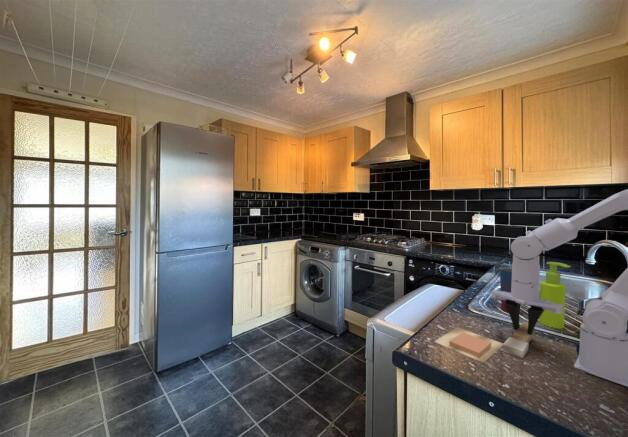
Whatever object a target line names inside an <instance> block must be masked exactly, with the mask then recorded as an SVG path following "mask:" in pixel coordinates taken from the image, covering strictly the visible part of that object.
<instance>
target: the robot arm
mask: <svg viewBox="0 0 628 437" xmlns="http://www.w3.org/2000/svg"><path fill="white" fill-rule="evenodd" d="M622 211H628V188H627V189H624V190H622V191H620V192H619V191H618V192H617V193H614V194H612V195H611V196H608V197H607V198H606V199H603V200H601V201H600V202H597V203H596V204H593V206H590V207H588V208H586V209H585V210H583V211H581V212H579V213H576V215H573V216H571V217H570V218H560V217H556V218H554V219H551V218H549V219H547V220H545V221H544V224H543V225H541V226H539V227H536V228H534V230H532V231H531V230H528V231H526V232H525V234H526V235H525V236H517V237H516V239H514V240H513V241H512V242H511V244H510V250H511V252H512V264H511V268H512V284H511V293H510V292H503V291H501V290H497V289H493V290H492V291H491V299H495V300H496V299H498V300H501V299H502V300H506V303H505V307H506V309H507V311H508V312H507V313H508V315H509V316H510V319H511V324H512V328H513V331H516V330H517V329H518V328H519V327H520V312H521V306H522V305H523V306H527V307H529V308H527V318H528V322H527V323H528V334H529V335H532V334H533V331H534V332H535V327H536V324H537V322H539V317H540V316H541V314H542V313H543V312H544V310H547V311H552V312H555V313H556V314H562V310H563V305H560V304H556V303H553V302H549V301H546V300H543V299H540V282H541V280H540V276H541V275H540V274H541V273H540V272H541V265H540V255H541V254H542V252H543V251H546V252H548V251H550V250H552V249H555V248H557V247H559V246H561V245H563V244H566V243H568V242H570V241H572V240H575V239H576V238H577V237H578V232H579V230H581V229H583V228H585V227H587V226H590V225H592V224H595V223H597V222H599V221H601V220H603V219H605V218H608V217H610V216H612V215H614V214H616V213H617V214H618V213H619V212H622ZM579 328H580V329H579V332H580V333H579V348H578V349H579V350H578V353H579V354H578V356H577V359H576V360H575V362H574V364H573V367H574V368H576V369H579V370H582V371H584V372H586V373H587V374H590V375H593V376H596V377H599V378H602V379H604V380H607V381H610V382H613V383H616V384H618V385H622V386H623V387H624V386H625V387H627V388H628V333H627V330H628V267H627V268H625V270H624V271H623V272H622V273H621V274H620V275H619V277H617V279H616V280H615V281H614V282H613V283H612V284H611V285H610V286H609V287H608V288H607V289H606V290H605V291H603V292H602V294H600V296H597V297H596V298H592V299H590V300H588V301H587V302H586V303H585V305H584V312H583V314H582V323H581V324H580V327H579Z"/></svg>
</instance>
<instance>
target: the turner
mask: <svg viewBox="0 0 628 437" xmlns="http://www.w3.org/2000/svg"><path fill="white" fill-rule="evenodd" d="M514 331H515V332H514V333H513V334H512V337H511V336H508V337H507V339H506V340H505V341H504V343H503V346H502V352H504V353H506V354H509V355H511V356H515V357H517V358H519V359H524V357H525V356H526V355H527V353H528V352H529V344H530V342H531V341H532V339H533V337H535V330H534V331H533V334H532V335H529V334H528V322H526V321H522V323H521V324H519V328H518V329H517V330H514Z"/></svg>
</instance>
